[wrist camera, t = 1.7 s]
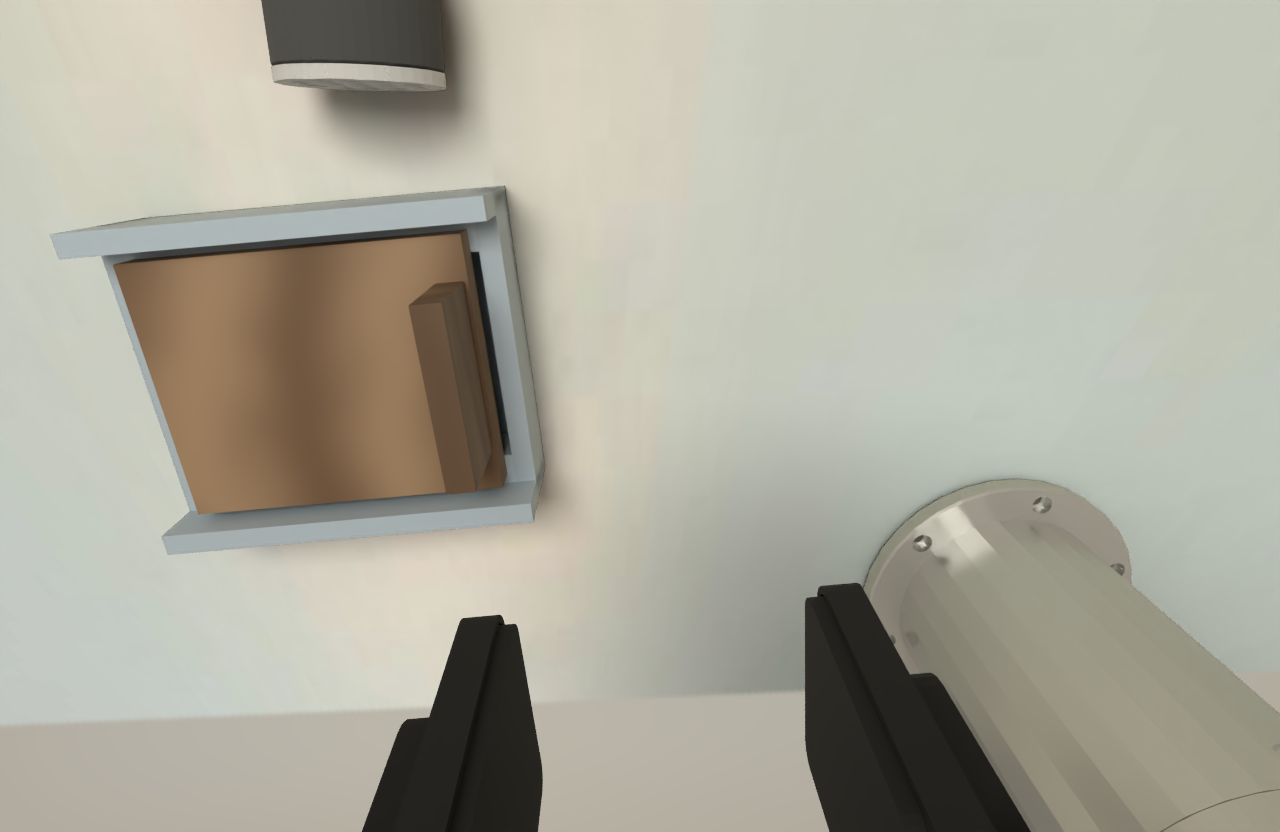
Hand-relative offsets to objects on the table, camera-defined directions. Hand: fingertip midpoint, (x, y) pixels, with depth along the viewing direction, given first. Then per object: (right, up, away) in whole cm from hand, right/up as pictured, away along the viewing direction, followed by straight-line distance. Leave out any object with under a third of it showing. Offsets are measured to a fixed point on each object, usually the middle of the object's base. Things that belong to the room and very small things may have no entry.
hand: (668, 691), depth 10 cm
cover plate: (-12, +6, +17) cm, 22 cm away
